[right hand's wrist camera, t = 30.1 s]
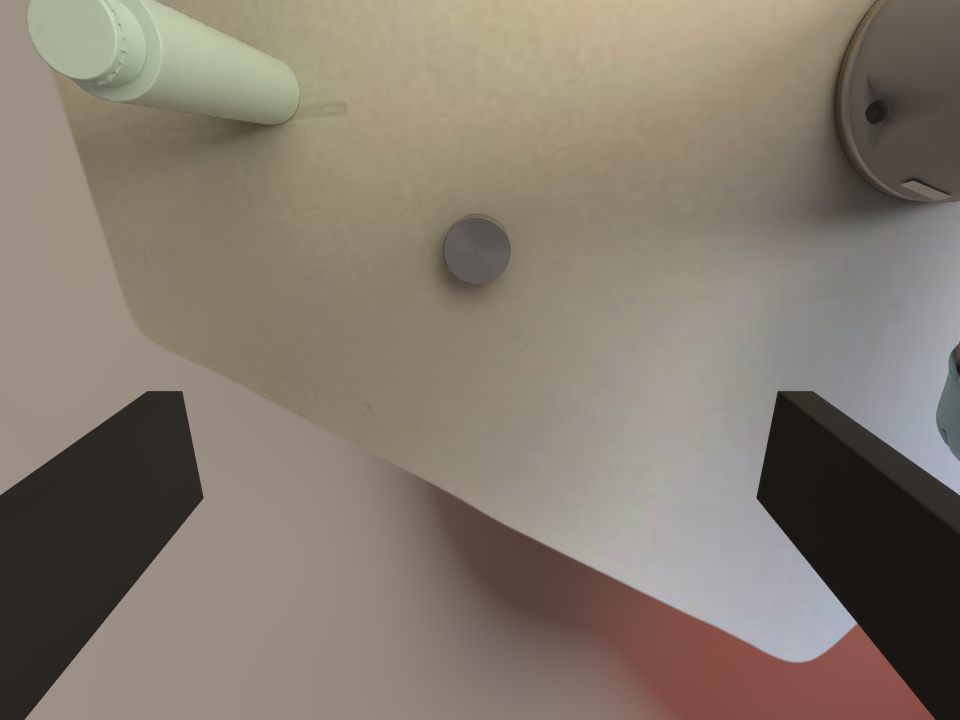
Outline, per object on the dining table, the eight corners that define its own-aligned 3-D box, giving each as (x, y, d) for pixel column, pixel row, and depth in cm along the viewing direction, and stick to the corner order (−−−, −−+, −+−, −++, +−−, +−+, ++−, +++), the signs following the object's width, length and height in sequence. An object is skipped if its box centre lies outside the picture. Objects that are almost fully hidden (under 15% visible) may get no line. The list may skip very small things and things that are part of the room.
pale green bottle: (286, 136, 38) (114, 119, 20) (228, 105, 37) (-3, 58, 19) (309, 76, 36) (147, 2, 19) (249, 43, 36) (23, -67, 18)
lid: (473, 200, 39) (472, 202, 37) (522, 242, 40) (524, 247, 38) (432, 250, 40) (429, 255, 38) (480, 290, 41) (480, 297, 39)
